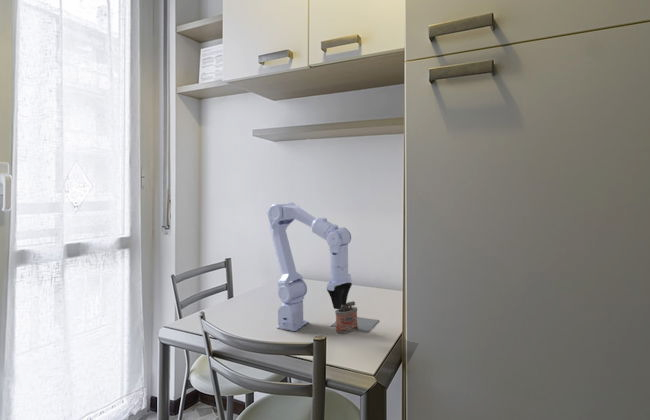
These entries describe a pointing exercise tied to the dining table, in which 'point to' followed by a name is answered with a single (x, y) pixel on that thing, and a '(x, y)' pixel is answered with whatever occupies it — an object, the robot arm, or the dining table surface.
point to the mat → (363, 324)
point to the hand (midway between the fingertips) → (339, 306)
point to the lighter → (346, 318)
